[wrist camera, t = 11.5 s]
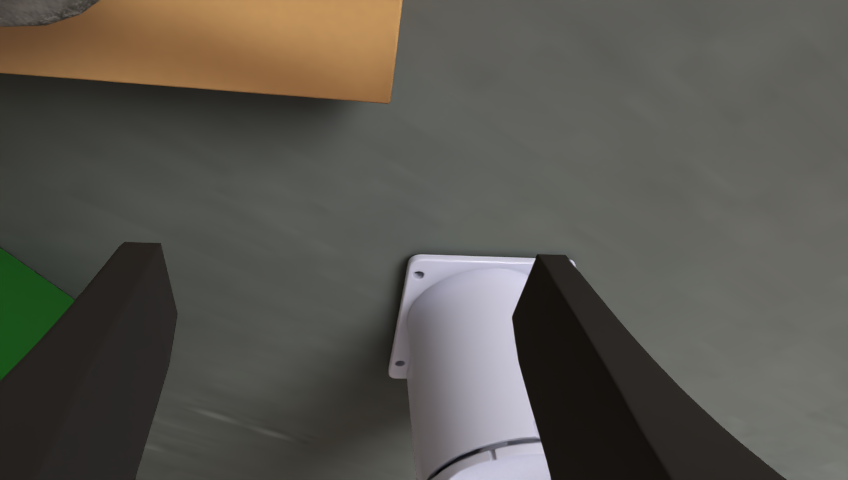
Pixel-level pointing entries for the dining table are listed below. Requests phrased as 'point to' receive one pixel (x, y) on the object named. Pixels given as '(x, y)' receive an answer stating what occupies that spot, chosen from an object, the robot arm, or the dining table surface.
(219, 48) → the shelf stand
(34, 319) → the milk carton
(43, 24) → the grey stone finial
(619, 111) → the dining table surface
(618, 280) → the dining table surface
